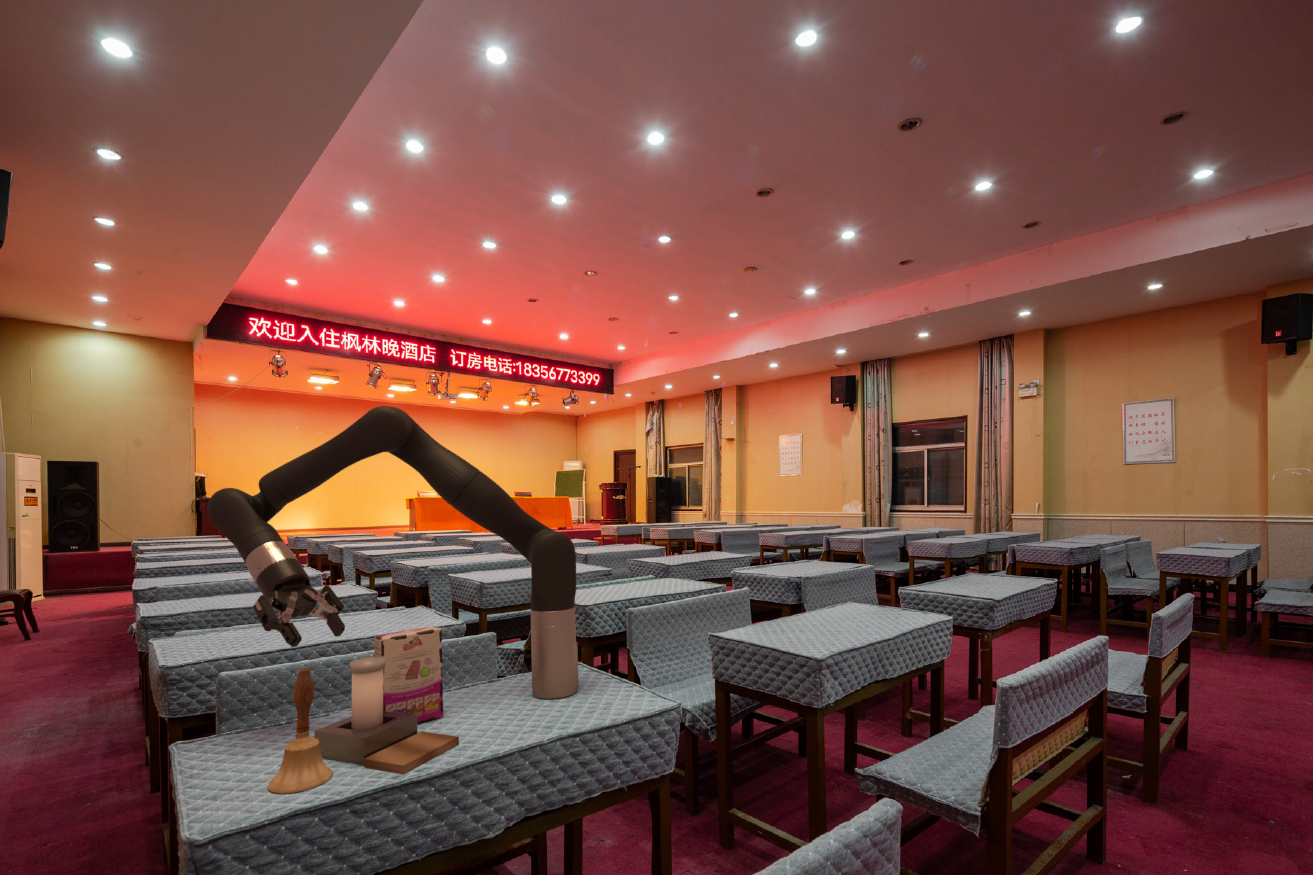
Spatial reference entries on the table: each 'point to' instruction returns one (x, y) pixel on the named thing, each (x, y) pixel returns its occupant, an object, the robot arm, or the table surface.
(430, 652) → the candy bar box
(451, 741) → the board
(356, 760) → the housing
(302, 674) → the hand bell
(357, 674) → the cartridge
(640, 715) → the table surface
